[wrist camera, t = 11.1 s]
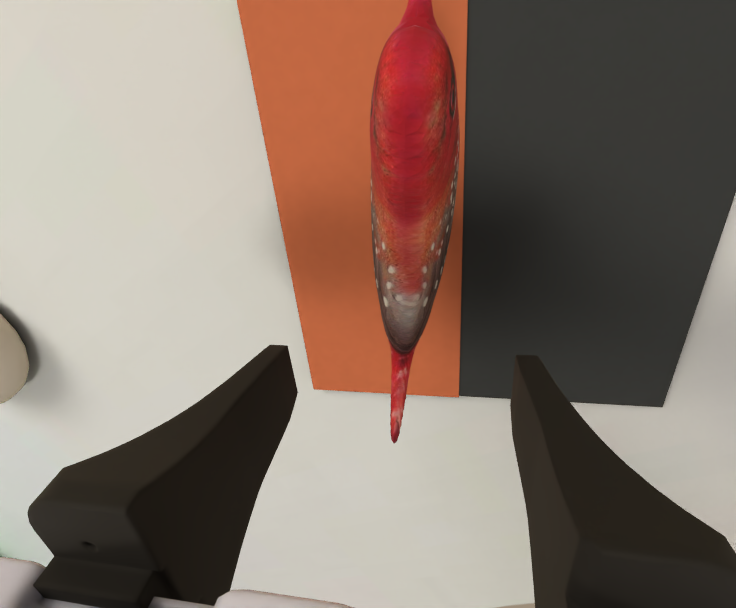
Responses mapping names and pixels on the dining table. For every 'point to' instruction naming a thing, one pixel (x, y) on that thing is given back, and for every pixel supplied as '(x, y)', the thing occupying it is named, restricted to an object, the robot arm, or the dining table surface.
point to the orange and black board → (511, 187)
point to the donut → (11, 361)
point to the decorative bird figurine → (412, 182)
